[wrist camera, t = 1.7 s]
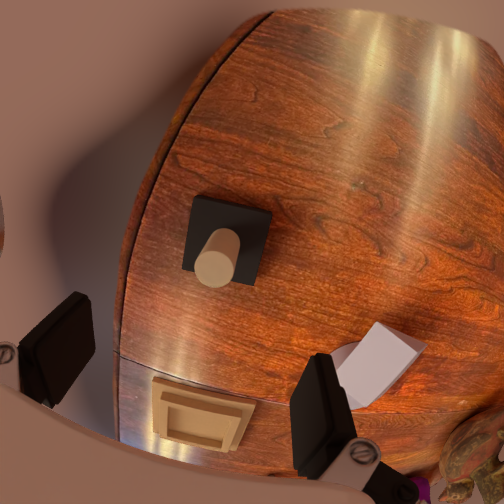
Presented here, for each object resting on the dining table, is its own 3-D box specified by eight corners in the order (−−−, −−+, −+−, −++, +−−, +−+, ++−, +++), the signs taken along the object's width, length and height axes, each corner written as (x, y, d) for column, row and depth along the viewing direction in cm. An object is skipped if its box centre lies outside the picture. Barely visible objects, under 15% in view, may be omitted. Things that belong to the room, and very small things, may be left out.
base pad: (154, 427, 38) (150, 438, 35) (154, 376, 33) (148, 388, 31) (236, 446, 38) (235, 458, 36) (256, 399, 34) (255, 413, 31)
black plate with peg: (185, 263, 27) (161, 299, 20) (197, 194, 25) (173, 210, 18) (254, 279, 28) (251, 321, 21) (271, 211, 25) (276, 234, 18)
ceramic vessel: (404, 462, 43) (427, 543, 20) (480, 388, 35) (531, 476, 11) (444, 455, 44) (469, 521, 21) (510, 387, 36) (554, 455, 12)
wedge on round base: (366, 304, 28) (304, 382, 32) (388, 340, 22) (310, 423, 26) (416, 328, 30) (356, 397, 34) (440, 361, 23) (367, 433, 27)
